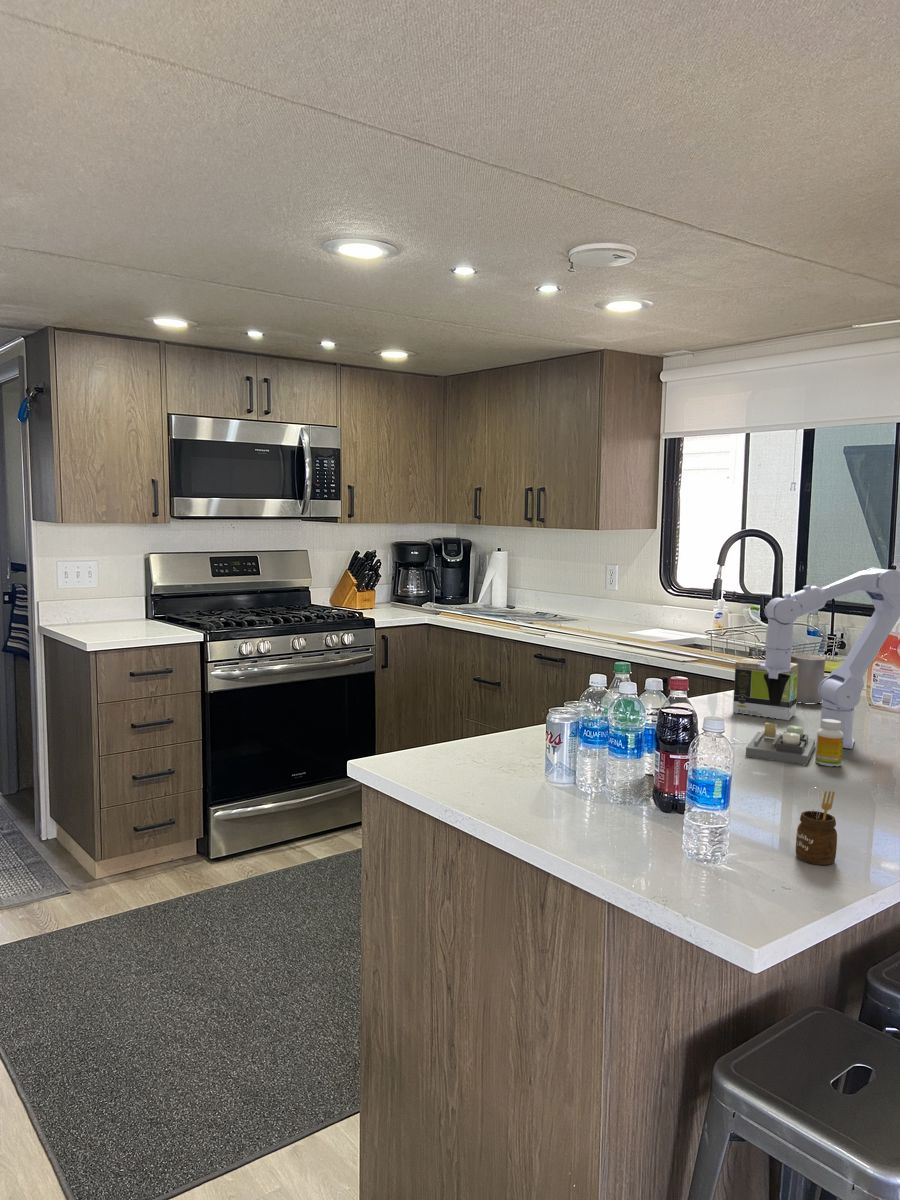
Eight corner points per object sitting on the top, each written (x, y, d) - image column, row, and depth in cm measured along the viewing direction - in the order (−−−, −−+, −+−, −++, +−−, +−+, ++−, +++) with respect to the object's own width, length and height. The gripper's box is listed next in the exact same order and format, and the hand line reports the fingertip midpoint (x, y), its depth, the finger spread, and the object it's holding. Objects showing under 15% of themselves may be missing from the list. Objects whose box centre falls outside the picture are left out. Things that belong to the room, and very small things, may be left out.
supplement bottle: (843, 768, 195) (847, 724, 194) (817, 765, 196) (821, 722, 196) (838, 761, 201) (841, 719, 200) (812, 759, 202) (816, 717, 201)
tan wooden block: (765, 734, 213) (766, 722, 212) (775, 736, 212) (776, 723, 211) (764, 736, 211) (764, 723, 211) (774, 737, 210) (775, 725, 210)
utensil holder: (824, 852, 144) (830, 779, 143) (843, 867, 138) (849, 791, 137) (788, 851, 144) (793, 778, 143) (805, 866, 138) (811, 791, 137)
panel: (757, 739, 219) (758, 725, 218) (814, 747, 213) (815, 732, 212) (745, 756, 203) (746, 740, 202) (806, 765, 197) (808, 749, 196)
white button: (783, 741, 204) (784, 731, 204) (800, 743, 203) (800, 733, 202) (781, 744, 201) (781, 734, 201) (798, 746, 199) (799, 737, 199)
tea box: (796, 715, 248) (799, 662, 247) (788, 721, 240) (792, 667, 239) (741, 707, 256) (744, 656, 255) (731, 713, 248) (735, 660, 247)
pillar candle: (784, 697, 274) (787, 648, 273) (817, 698, 273) (821, 650, 271) (791, 704, 265) (795, 654, 263) (826, 705, 263) (830, 655, 262)
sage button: (787, 734, 211) (788, 724, 211) (803, 736, 210) (804, 727, 209) (785, 737, 208) (786, 727, 208) (802, 739, 206) (802, 730, 206)
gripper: (765, 643, 223) (762, 696, 224) (756, 650, 210) (753, 707, 211) (795, 645, 219) (792, 700, 221) (788, 653, 207) (784, 711, 208)
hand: (775, 704), depth 216 cm, fingers closed
